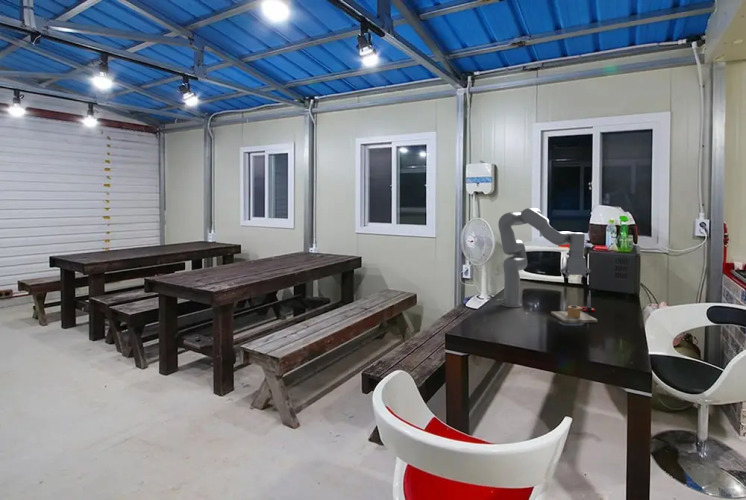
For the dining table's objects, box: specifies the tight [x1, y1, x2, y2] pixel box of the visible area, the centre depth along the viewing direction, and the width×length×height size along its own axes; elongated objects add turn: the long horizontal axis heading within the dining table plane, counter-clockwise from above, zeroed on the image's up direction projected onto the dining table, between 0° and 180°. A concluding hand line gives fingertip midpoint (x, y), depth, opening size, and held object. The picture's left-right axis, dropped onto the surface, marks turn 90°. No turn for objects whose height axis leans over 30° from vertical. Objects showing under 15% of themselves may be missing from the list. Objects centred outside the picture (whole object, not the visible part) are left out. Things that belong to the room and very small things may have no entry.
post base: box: [550, 304, 598, 324], centre depth 243 cm, size 18×18×8 cm
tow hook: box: [580, 290, 596, 313], centre depth 260 cm, size 8×13×9 cm
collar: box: [567, 305, 582, 317], centre depth 243 cm, size 6×6×5 cm
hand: (574, 284), depth 241 cm, fingers open, 9 cm apart
